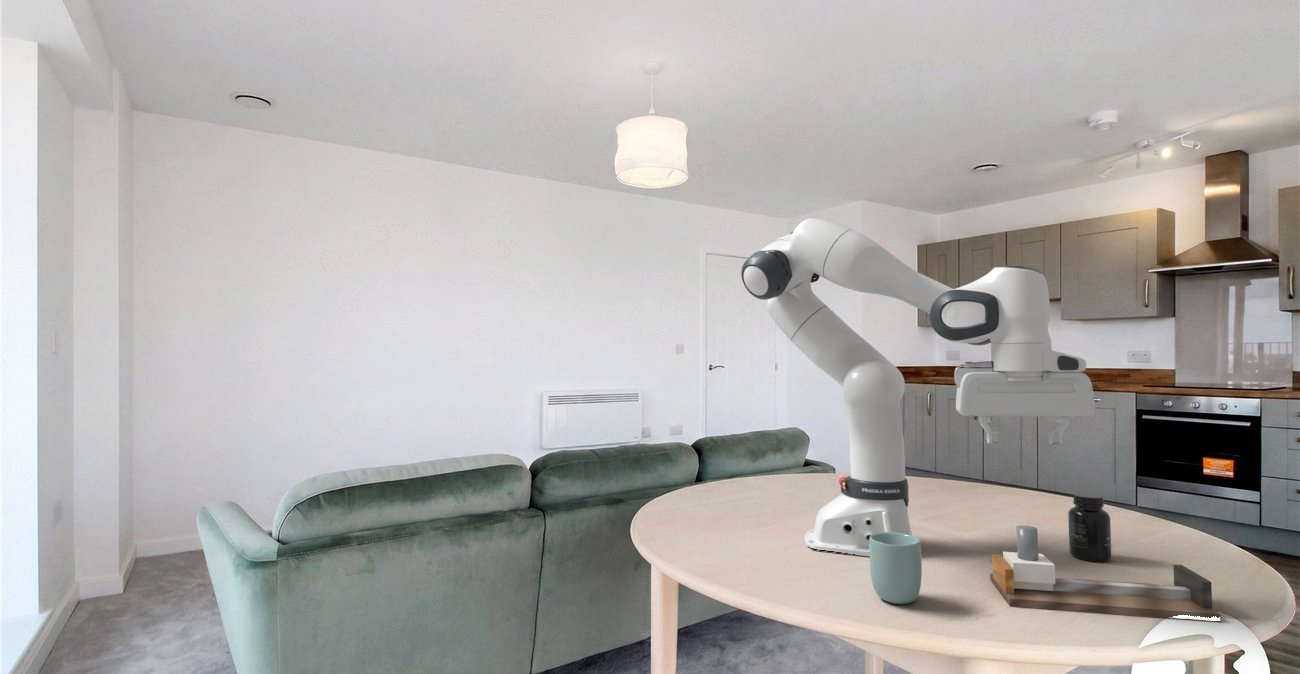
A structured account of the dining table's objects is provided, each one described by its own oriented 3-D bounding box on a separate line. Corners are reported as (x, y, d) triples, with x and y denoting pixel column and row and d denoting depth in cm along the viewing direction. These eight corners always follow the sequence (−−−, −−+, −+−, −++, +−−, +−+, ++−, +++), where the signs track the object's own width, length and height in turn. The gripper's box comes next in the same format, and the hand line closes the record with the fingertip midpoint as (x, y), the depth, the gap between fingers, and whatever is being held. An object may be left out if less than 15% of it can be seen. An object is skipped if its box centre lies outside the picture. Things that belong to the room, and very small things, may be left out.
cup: (896, 612, 99) (894, 547, 99) (861, 595, 106) (859, 535, 106) (933, 604, 102) (931, 541, 102) (896, 588, 109) (894, 529, 109)
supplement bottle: (1119, 563, 120) (1116, 499, 120) (1079, 562, 121) (1076, 498, 121) (1101, 552, 126) (1098, 492, 127) (1063, 551, 128) (1061, 491, 128)
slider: (1014, 590, 103) (1012, 531, 103) (1003, 578, 109) (1001, 522, 109) (1055, 593, 101) (1053, 533, 102) (1043, 580, 107) (1040, 524, 108)
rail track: (1009, 606, 100) (1008, 573, 101) (990, 580, 112) (989, 550, 112) (1221, 622, 93) (1219, 586, 93) (1176, 592, 105) (1175, 561, 105)
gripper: (957, 361, 106) (960, 444, 106) (1097, 360, 101) (1100, 447, 100) (950, 361, 112) (952, 439, 112) (1081, 360, 107) (1084, 442, 106)
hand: (1023, 443), depth 106 cm, fingers open, 8 cm apart
